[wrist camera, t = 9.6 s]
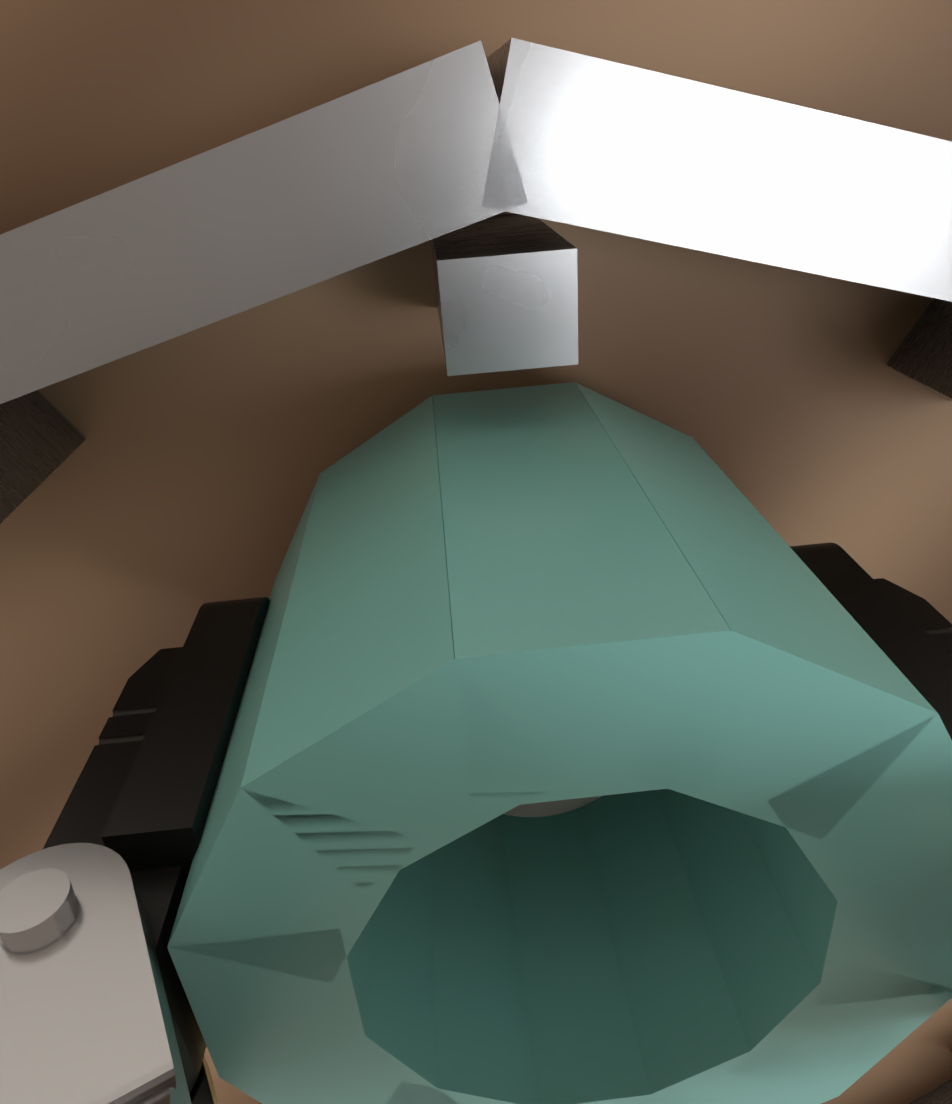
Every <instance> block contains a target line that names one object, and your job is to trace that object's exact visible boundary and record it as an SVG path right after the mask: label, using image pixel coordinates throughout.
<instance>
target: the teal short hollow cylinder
mask: <svg viewBox="0 0 952 1104" xmlns="http://www.w3.org/2000/svg"><path fill="white" fill-rule="evenodd" d="M269 600H270V602H269V606H268V609H267V613H266V616H265V620H264V623H263V626H262V630H261V633H260V637H259V640H258V644H257V647H256V651H255V654H254V657H253V661H252V664H251V668H250V671H249V675H248V678H247V682H246V685H245V688H244V692H243V695H242V699H241V702H240V706H239V709H238V713H237V716H236V719H235V723H234V726H233V730H232V733H231V737H230V740H229V744H228V747H227V750H226V754H225V757H224V761H223V764H222V768H221V771H220V775H219V778H218V781H217V785H216V788H215V792H214V795H213V799H212V802H211V806H210V809H209V812H208V816H207V819H206V823H205V826H204V830H203V833H202V837H201V840H200V843H199V847H198V849H197V851H196V854H195V856H194V858H193V861H192V864H191V867H190V871H189V874H188V878H187V881H186V884H185V888H184V891H183V895H182V898H181V902H180V905H179V908H178V912H177V915H176V919H175V922H174V925H173V929H172V932H171V936H170V939H169V942H168V946H167V948H168V951H169V953H170V956H171V958H172V961H173V963H174V966H175V968H176V971H177V973H178V976H179V978H180V981H181V983H182V986H183V988H184V991H185V993H186V996H187V998H188V1001H189V1003H190V1006H191V1008H192V1011H193V1013H194V1016H195V1018H196V1021H197V1023H198V1026H199V1028H200V1031H201V1033H202V1036H203V1038H204V1041H205V1043H206V1046H207V1048H208V1051H209V1053H210V1056H211V1058H212V1061H213V1063H214V1066H215V1068H216V1070H217V1073H218V1075H219V1077H220V1078H221V1079H223V1080H224V1081H226V1082H228V1083H229V1084H231V1085H233V1086H234V1087H236V1088H237V1089H239V1090H241V1091H242V1092H244V1093H246V1094H247V1095H249V1096H251V1097H252V1098H254V1099H255V1100H257V1101H259V1102H260V1103H262V1104H821V1103H824V1102H826V1101H829V1100H831V1099H834V1098H836V1097H838V1096H840V1095H841V1094H842V1093H843V1092H844V1091H845V1090H846V1089H848V1088H849V1087H850V1086H851V1085H852V1084H853V1083H855V1082H856V1081H857V1080H858V1079H859V1078H860V1077H861V1076H863V1075H864V1074H865V1073H866V1072H867V1071H868V1070H869V1069H871V1068H872V1067H873V1066H874V1065H875V1064H876V1063H877V1062H879V1061H880V1060H881V1059H882V1058H883V1057H884V1056H885V1055H887V1054H888V1053H889V1052H890V1051H891V1050H892V1049H894V1048H895V1047H896V1046H897V1045H898V1044H899V1043H900V1042H902V1041H903V1040H904V1039H905V1038H906V1037H907V1036H908V1035H910V1034H911V1033H912V1032H913V1031H914V1030H915V1029H916V1028H918V1027H919V1026H920V1025H921V1024H922V1023H923V1022H925V1021H926V1020H927V1019H928V1018H929V1017H930V1016H931V1015H933V1014H934V1013H935V1012H936V1011H937V1010H938V1009H939V1008H941V1007H942V1006H943V1005H944V1004H945V1003H946V1002H947V1001H949V1000H950V999H951V998H952V740H951V738H950V736H949V734H948V732H947V730H946V728H945V726H944V724H943V722H942V720H941V718H940V716H939V714H938V713H937V712H936V711H935V709H934V708H933V707H932V706H931V705H930V704H929V703H928V702H927V700H926V699H925V698H924V697H923V696H922V695H921V694H920V693H919V691H918V690H917V689H916V688H915V687H914V686H913V685H912V684H911V682H910V681H909V680H908V679H907V678H906V677H905V676H904V675H903V673H902V672H901V671H900V670H899V669H898V668H897V667H896V666H895V664H894V663H893V662H892V661H891V660H890V659H889V658H888V657H887V655H886V654H885V653H884V652H883V651H882V650H881V649H880V648H879V646H878V645H877V644H876V643H875V642H874V641H873V640H872V639H871V638H870V636H869V635H868V634H867V633H866V632H865V631H864V630H863V629H862V627H861V626H860V625H859V624H858V623H857V622H856V621H855V620H854V618H853V617H852V616H851V615H850V614H849V613H848V612H847V611H846V609H845V608H844V607H843V606H842V605H841V604H840V603H839V602H838V600H837V599H836V598H835V597H834V596H833V595H832V594H831V593H830V591H829V590H828V589H827V588H826V587H825V586H824V585H823V584H822V582H821V581H820V580H819V579H818V578H817V577H816V576H815V575H814V573H813V572H812V571H811V570H810V569H809V568H808V567H807V566H806V564H805V563H804V562H803V561H802V560H801V559H800V558H799V557H798V556H797V554H796V553H795V552H794V551H793V550H792V549H791V548H790V547H789V545H788V544H787V543H786V542H785V541H784V540H783V539H782V538H781V536H780V535H779V534H778V533H777V532H776V531H775V530H774V529H773V527H772V526H771V525H770V524H769V523H768V522H767V521H766V520H765V518H764V517H763V516H762V515H761V514H760V513H759V512H758V511H757V509H756V508H755V507H754V506H753V505H752V504H751V503H750V502H749V500H748V499H747V498H746V497H745V496H744V495H743V494H742V493H741V491H740V490H739V489H738V488H737V487H736V486H735V485H734V484H733V482H732V481H731V480H730V479H729V478H728V477H727V476H726V475H725V474H724V472H723V471H722V470H721V469H720V468H719V467H718V466H717V465H716V463H715V462H714V461H713V460H712V459H711V458H710V457H709V456H708V454H707V453H706V452H705V451H704V450H703V449H702V448H701V447H700V445H699V444H698V443H697V442H696V441H695V440H694V439H693V438H692V437H690V436H688V435H686V434H684V433H682V432H680V431H678V430H675V429H673V428H671V427H669V426H667V425H665V424H663V423H661V422H658V421H656V420H654V419H652V418H650V417H648V416H646V415H644V414H642V413H639V412H637V411H635V410H633V409H631V408H629V407H627V406H625V405H622V404H620V403H618V402H616V401H614V400H612V399H610V398H608V397H605V396H603V395H601V394H599V393H597V392H595V391H593V390H591V389H589V388H586V387H584V386H582V385H580V384H578V383H576V382H570V383H559V384H548V385H537V386H527V387H516V388H505V389H495V390H484V391H473V392H462V393H452V394H441V395H433V396H431V397H429V398H428V399H426V400H425V401H424V402H422V403H421V404H419V405H418V406H416V407H415V408H413V409H412V410H411V411H409V412H408V413H406V414H405V415H403V416H402V417H401V418H399V419H398V420H396V421H395V422H393V423H392V424H390V425H389V426H388V427H386V428H385V429H383V430H382V431H380V432H379V433H377V434H376V435H375V436H373V437H372V438H370V439H369V440H367V441H366V442H364V443H363V444H362V445H360V446H359V447H357V448H356V449H354V450H353V451H352V452H350V453H349V454H347V455H346V456H344V457H343V458H341V459H340V460H339V461H337V462H336V463H334V464H333V465H331V466H330V467H328V468H327V469H326V470H324V471H323V472H321V473H320V475H319V477H318V479H317V482H316V484H315V486H314V489H313V491H312V494H311V496H310V498H309V501H308V503H307V505H306V508H305V510H304V513H303V515H302V517H301V520H300V522H299V524H298V527H297V529H296V532H295V534H294V536H293V539H292V541H291V543H290V546H289V548H288V551H287V553H286V555H285V558H284V560H283V562H282V565H281V567H280V570H279V572H278V574H277V577H276V579H275V581H274V584H273V588H272V591H271V595H270V598H269ZM595 796H601V797H599V798H598V799H596V800H594V801H593V802H591V803H589V804H587V805H584V806H582V807H580V808H577V809H575V810H572V811H569V812H565V813H561V814H557V815H551V816H545V817H518V816H511V815H506V814H504V813H505V812H507V811H509V810H511V809H513V808H515V807H517V806H518V805H521V804H530V803H540V802H549V801H558V800H567V799H577V798H586V797H595Z"/></svg>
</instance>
